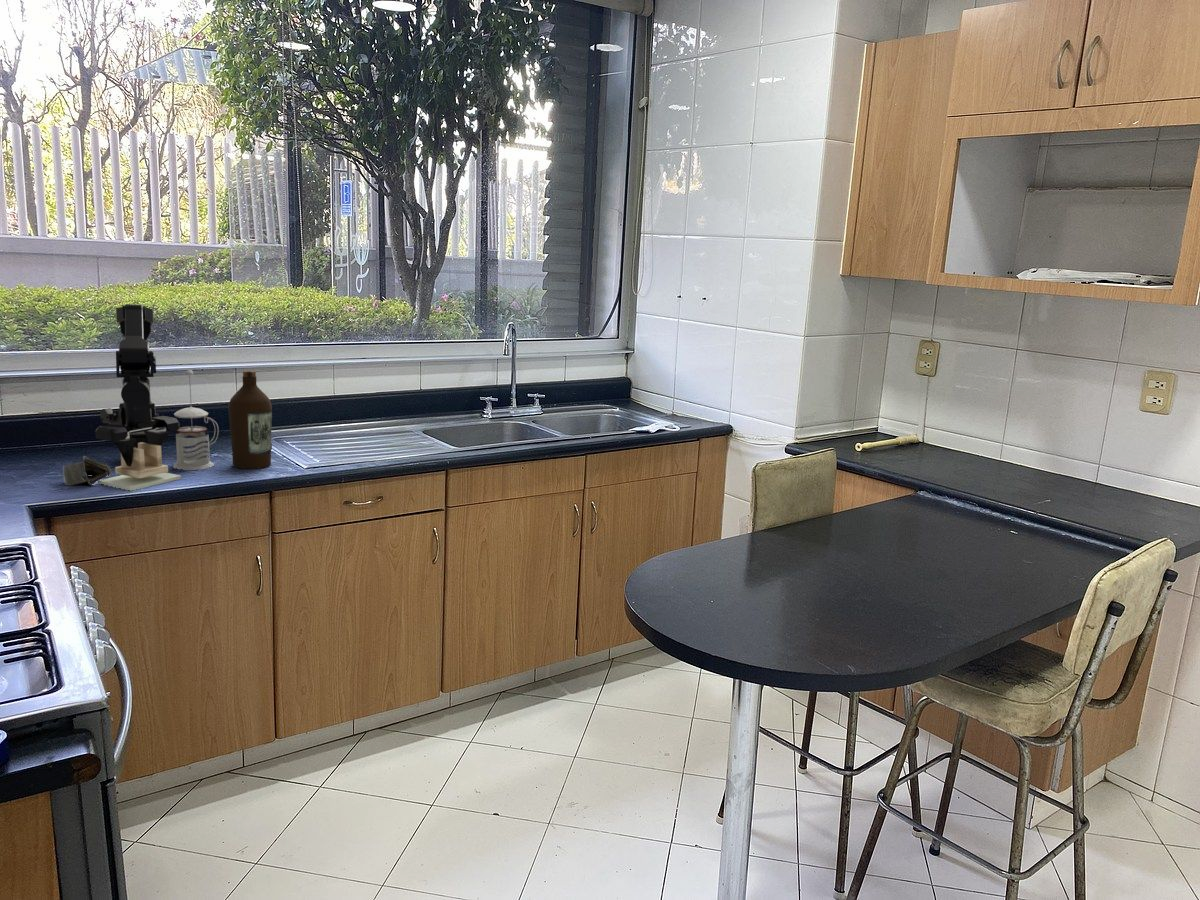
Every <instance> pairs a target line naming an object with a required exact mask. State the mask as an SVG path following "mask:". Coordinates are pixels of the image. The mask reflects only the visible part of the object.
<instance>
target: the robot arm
mask: <svg viewBox="0 0 1200 900" xmlns="http://www.w3.org/2000/svg"><path fill="white" fill-rule="evenodd" d="M115 313H116V315H115V317H116V318H115V319H116V325H117V326H120V327H119V328H120V332H121V334H122V335H123V337H124V338H123V339H122V340H121V341H119V343H118V350H115V365H116V366H115V367H116V369H115V370H116V371H115V373H116V378H123V379H122V382H121V383H122V387H121V392H120V396H121V400H122V401H123V402H121V403H119V407H118V409H117V410H113V409H112V408H110V407H109V408H102V409H101V410H100V413H99V414H100V421H101V422H102V424H106V425H99V426H97V428H96V429H95V439H98V440H102V441H105V442H112V443H114V444H115V446H116V447H117V448H118V451H119V453H120V455H121V454H122V457H123V459H124V461H125V463H126V465H127V466H131V465H132V460H133V448H138V443H141V442H144V443H149V444H154V445H159V446H161V447H162V446H163V444H164V443H165V440H166V438H168V436H169V435H171V432H173V431H177V430H179V428H180V422H179V420H178V419H177V417H171V416H165V415H161V416H160V415H159V413H156V405H155V403H153V402H152V400H151V384H150V383H151V381H150V379H149V378H154V377H155V375H154V374H157V358H156V355H155V353H154V351H153V350H150V342H148V341H147V340H148V338H149V336H150V334H151V333H152V326H154V325H155V322H154V319H155V317H154V309H153V308H150V307H146V306H145V305H143V304H131V303H130V304H129V303H125V304H122V306H121V307H118V308H115Z"/></svg>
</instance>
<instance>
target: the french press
mask: <svg viewBox="0 0 1200 900" xmlns="http://www.w3.org/2000/svg"><path fill="white" fill-rule="evenodd" d="M185 375H186V376H188V377H189V378H188V379H189V380H188V381H191V376H194V371H193V370H191V369H189V370H186V371H185ZM191 386H192V385H191V383H189V397H190V398H189V399H190V404H192V392H191V391H192V389H191ZM173 415H174V417H175V418H180V419H190V421H191V426H190V425H187V426H182V427H180V426H179V430H176V431H177V432H178V433H176V434H175V445H176V462H175V463H174V464H173V465H174V466H172V468H174V469H176V468H177V469H176V470H180V469H183V470H184V471H196V470H197V469H198V470H204V469H205V470H206V469H210V468H211V467H214V466H215V464H214V463H213V462H212V461H211V459H210V458H211V457H210V452H211V451H210V446H212V445H213V444H215V443H216V441H217V440H218V438H219V434H220V431H219V430H220V428H219V425H218V423H217V421H216V420H214V419H213V418H211V417H208V415H209V412H208V411H206V410H204V409H202V408H199V407H194V406H189V407H185V408H181V409H179V410H177V411H176V412H174V413H173ZM199 418H200V419H201V418H203V421H204V423H205V424H208V423H209V421H210V422H212V424H213V427H214V433H213V436H212V438H211V440H210V437H209V433H206V431H207V430H208V428H207V427H205V426H200V425H199V426H198V425H193V419H199ZM216 428H217V430H216ZM216 431H217V434H216ZM189 436H190V437H189ZM215 436H216V438H215ZM213 440H214V441H213ZM212 441H213V442H212ZM186 447H187V448H186ZM193 451H194V452H193ZM186 452H187V453H186ZM209 467H210V468H209ZM183 470H182V471H183Z"/></svg>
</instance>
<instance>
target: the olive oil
mask: <svg viewBox="0 0 1200 900" xmlns="http://www.w3.org/2000/svg"><path fill="white" fill-rule="evenodd" d="M228 419H229V430H230V444H231V453H232V454H231V456H232V457H231V459H232V466H233V467H234V468H236V469H241V470H256V469H258V470H259V469H264V468H268V467H270V466H271V465H272V462H271V461H272V449H273V444H272V423H273V422H272V421H273V405H272V402H271V400H270V398H269V396H267V394H266V393H264V391H262V389H260V388H259V386H258V385H257V371H255V370H250V369H249V370H247V369H246V370H243V371H242V386H241V387H240V388H238V390H237V391H236V392H235V393H234V395H233V396H232V397H231V398H230V400H229V403H228Z"/></svg>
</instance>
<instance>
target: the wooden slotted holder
mask: <svg viewBox="0 0 1200 900" xmlns="http://www.w3.org/2000/svg"><path fill="white" fill-rule="evenodd" d="M162 458H163V456H162V446H159V445H154V444H149V443H144V442H141V443H138V448H133V460H132V465H131V466H127V465H126V463H125V461H124V459H123V457H122V454H121V453H120V466H115V467H114V469H115V474H116V475H126V476H130V477H135V478H144V477H148V476H152V475H156V474H161V473H165V472H166V473H169V465H166V464H163V459H162Z"/></svg>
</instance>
